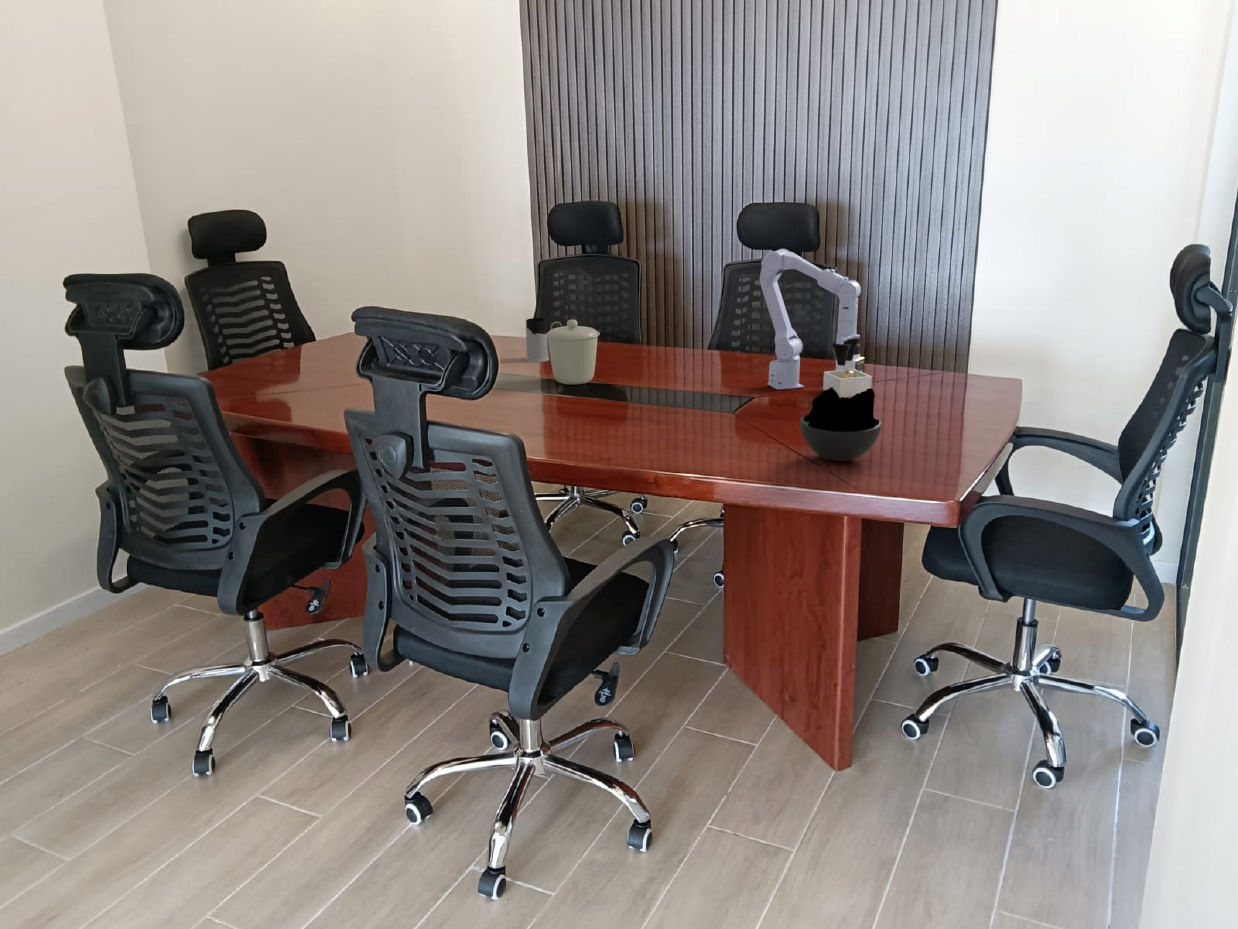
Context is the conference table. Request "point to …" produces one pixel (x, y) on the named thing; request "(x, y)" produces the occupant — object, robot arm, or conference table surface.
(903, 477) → the conference table surface
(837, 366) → the medicine bottle
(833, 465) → the conference table surface
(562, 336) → the canister
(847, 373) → the plunger
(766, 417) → the conference table surface
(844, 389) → the white open box
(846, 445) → the coal bowl
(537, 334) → the glass holder
